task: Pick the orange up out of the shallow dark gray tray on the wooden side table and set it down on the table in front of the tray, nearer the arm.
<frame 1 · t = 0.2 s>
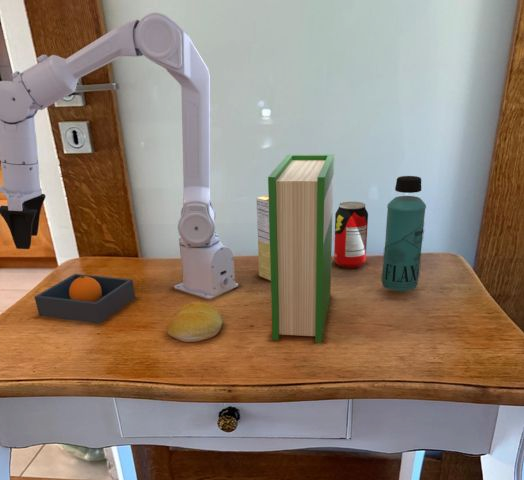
hand: (27, 241, 97), 10 cm above the table, tool pointing down, fingers open, 7 cm apart
beverage can: (349, 264, 112), on the table
orange: (88, 306, 97), resting on dark gray tray
hardback book: (303, 317, 91), on the table
beverage bottle: (398, 293, 98), on the table
dark gray tray: (88, 307, 97), on the table
bread roll: (195, 331, 88), on the table
candy box: (282, 274, 109), on the table
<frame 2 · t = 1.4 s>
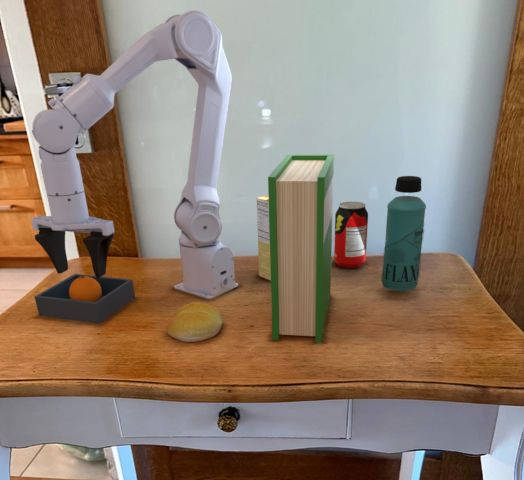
hand: (81, 273, 94), 6 cm above the table, tool pointing down, fingers open, 7 cm apart
nothing on the table moved.
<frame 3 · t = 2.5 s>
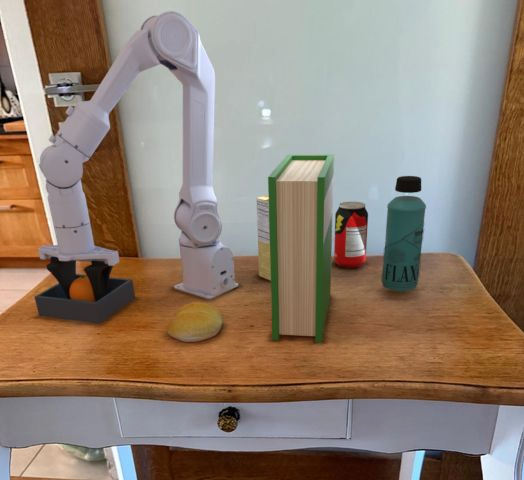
hand: (87, 300, 96), 1 cm above the table, tool pointing down, fingers closed on orange, 5 cm apart
orange: (88, 306, 97), resting on dark gray tray, touching gripper
everything else where it was.
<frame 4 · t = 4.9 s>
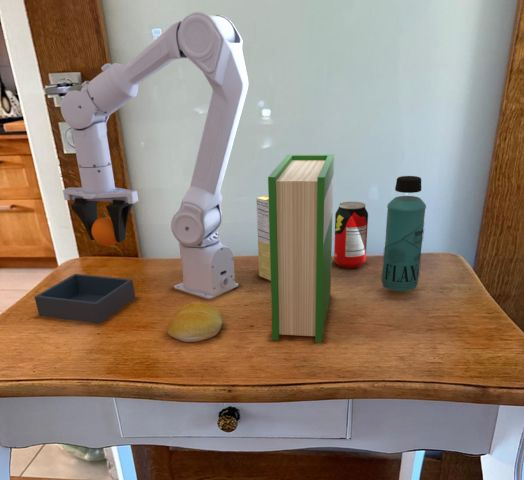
hand: (107, 239, 105), 8 cm above the table, tool pointing down, fingers closed on orange, 5 cm apart
orange: (108, 245, 105), point 7 cm above the table, touching gripper
everything else where it was.
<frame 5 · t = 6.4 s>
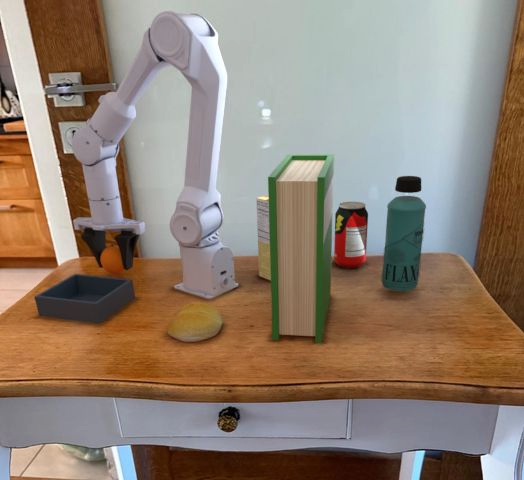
hand: (115, 267, 109), 2 cm above the table, tool pointing down, fingers closed on orange, 5 cm apart
orange: (116, 272, 109), point 1 cm above the table, touching gripper
everything else where it was.
when the fingers open (1 cm above the table, at t = 7.3 s): orange stays where it is, on the table.
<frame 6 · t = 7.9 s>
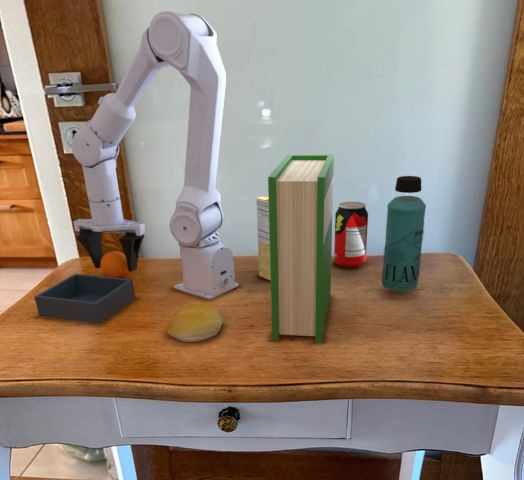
hand: (116, 268, 109), 2 cm above the table, tool pointing down, fingers open, 7 cm apart
orange: (117, 277, 110), on the table
everything else where it was.
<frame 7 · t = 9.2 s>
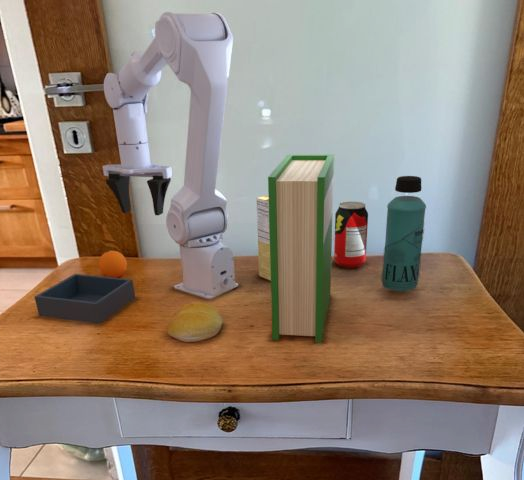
hand: (142, 213, 113), 10 cm above the table, tool pointing down, fingers open, 7 cm apart
orange: (117, 277, 110), on the table, tilted 13°
everything else where it was.
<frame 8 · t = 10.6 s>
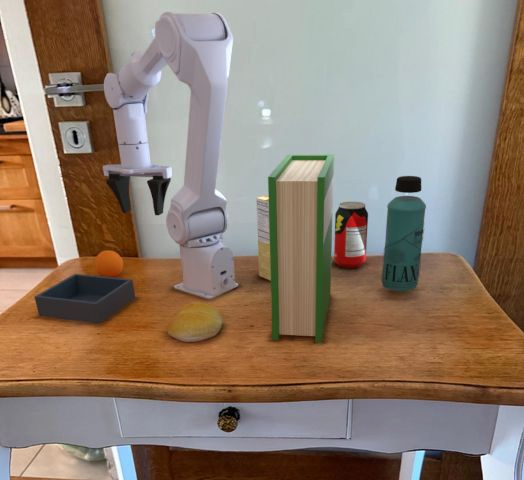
hand: (142, 213, 113), 10 cm above the table, tool pointing down, fingers open, 7 cm apart
orange: (117, 275, 110), on the table, tilted 32°
everything else where it was.
at the end: orange inside the target area (0.1 cm from its centre), on the table; orange touching table; the gripper is holding nothing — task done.
